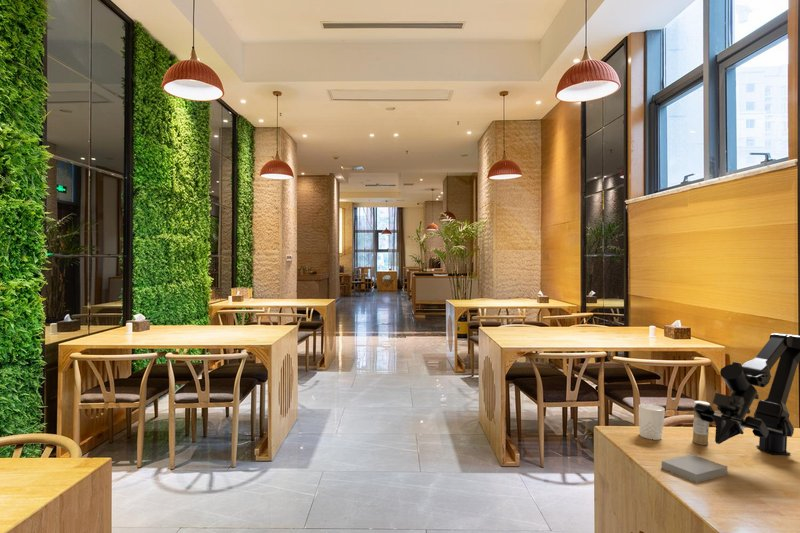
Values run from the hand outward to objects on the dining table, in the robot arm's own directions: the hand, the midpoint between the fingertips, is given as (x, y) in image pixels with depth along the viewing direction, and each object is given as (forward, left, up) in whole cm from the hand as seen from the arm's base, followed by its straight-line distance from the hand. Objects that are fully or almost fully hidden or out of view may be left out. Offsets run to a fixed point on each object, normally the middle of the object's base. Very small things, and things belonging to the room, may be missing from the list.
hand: (717, 442), depth 145 cm
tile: (+3, +2, -6) cm, 7 cm away
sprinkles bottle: (-8, -19, -7) cm, 22 cm away
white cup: (+6, -24, -7) cm, 26 cm away
